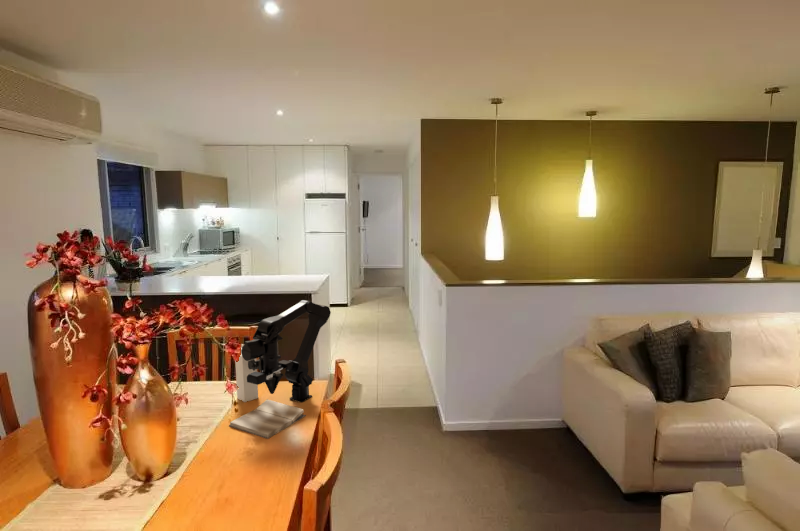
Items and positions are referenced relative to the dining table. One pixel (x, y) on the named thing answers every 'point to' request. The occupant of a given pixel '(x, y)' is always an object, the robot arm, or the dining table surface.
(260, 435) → the underlay mat
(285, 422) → the laid planks
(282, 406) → the loose plank
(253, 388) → the milk
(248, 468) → the dining table surface
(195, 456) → the dining table surface
